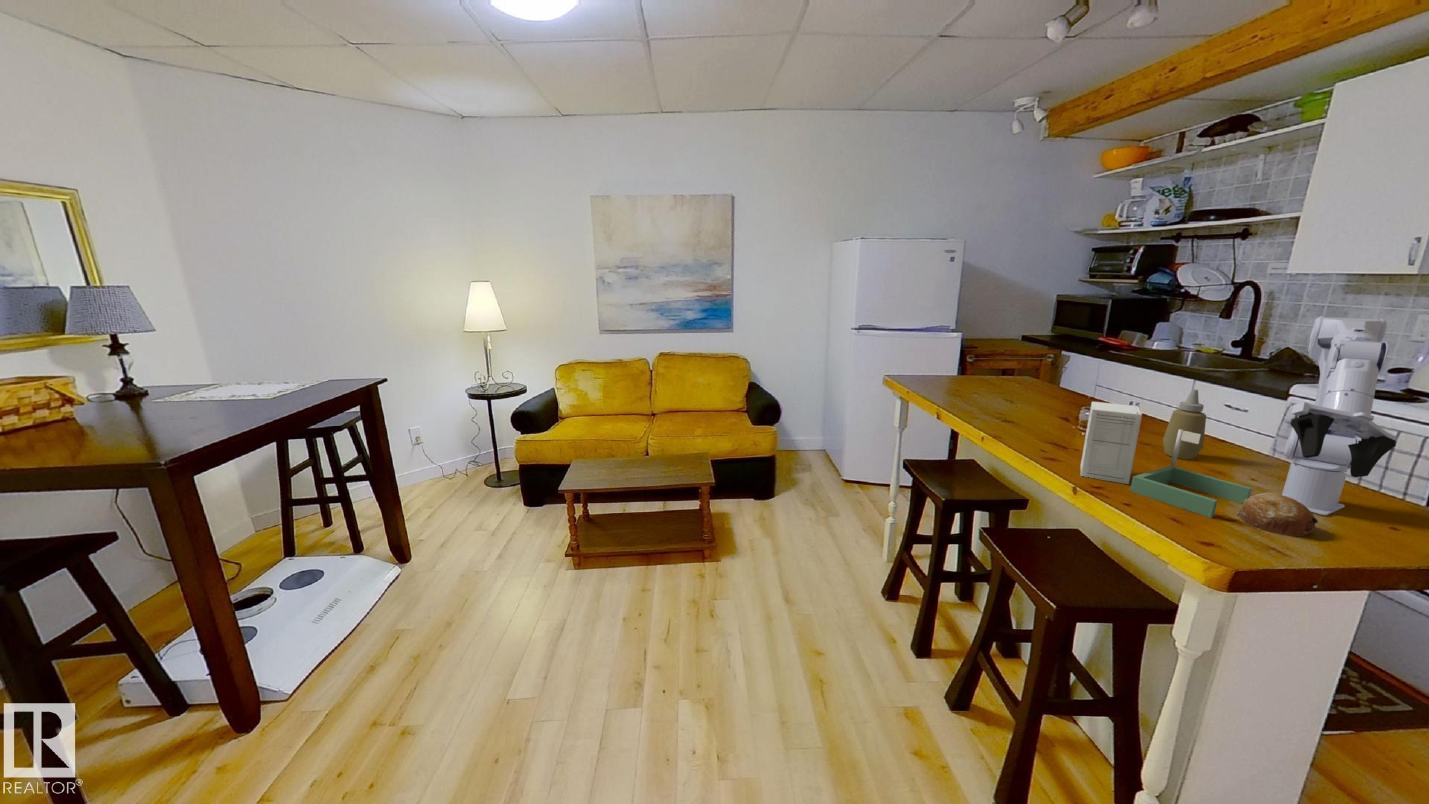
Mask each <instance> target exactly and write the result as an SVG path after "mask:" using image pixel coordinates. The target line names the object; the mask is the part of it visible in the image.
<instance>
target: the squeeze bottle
mask: <svg viewBox="0 0 1429 804" xmlns="http://www.w3.org/2000/svg"><path fill="white" fill-rule="evenodd" d="M1204 406H1205V405H1204V404H1202V403H1200V401H1199V389H1195V388H1194V389H1191V391H1190V393H1189V394H1188V396H1187V398H1186V400H1185V401H1180V402H1179V405H1178V409H1175V410H1173V411H1172V414H1171V417H1170V419H1169V422H1168V425H1167V428H1166V430H1165V432H1164V436H1163V438H1162V443H1163V448H1164V454H1165V453H1166V454H1165V455H1167V456H1169V457H1171V458H1172V457H1173V452H1174V448H1175V443H1176V439H1177V435H1178V430H1179V429H1182V430H1183V431H1188V432H1192V433H1197V434H1201V437H1200V441H1199V444H1196V443H1191V442H1187V441H1183V440H1181V443H1180V447H1179V451H1178V456H1177V459H1180V458H1181V460H1194V459H1196V457H1198V454H1200V453H1201V451H1202V449H1203V448H1204V441H1205V434H1206V422H1207V414H1205V412H1203V411H1204Z"/></svg>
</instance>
